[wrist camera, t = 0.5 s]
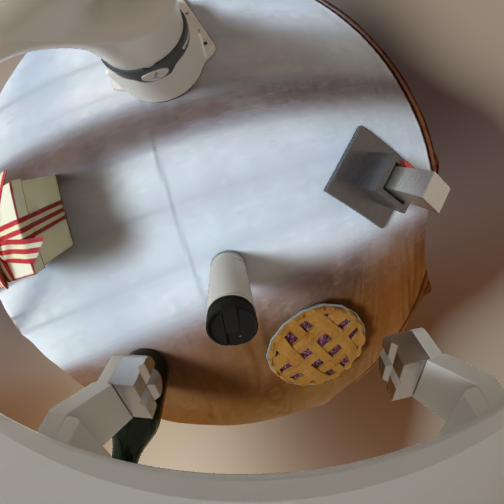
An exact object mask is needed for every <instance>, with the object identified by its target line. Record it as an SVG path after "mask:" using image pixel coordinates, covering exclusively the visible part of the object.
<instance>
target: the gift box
mask: <svg viewBox="0 0 504 504" xmlns="http://www.w3.org/2000/svg"><path fill="white" fill-rule="evenodd" d="M6 171H7V170H5V171H3V172H1V173H0V287H2V288H7V289H8V288H9V287H8V286H9V285H8V282H11V281H15V280H17V279H21V278H24V277H27V276H31V275H35V274H37V273H38V272H40V271H41V270H42V269H44V268H45V265H46V264H47V263H48V262H50V261H51V260H52V259H54V258H55V257H56V256H58V255H59V254H61V253H62V252H64V251H65V250H66V249H68V248H69V247H71V246H72V245H73V241H72V237H71V234H70V230H69V227H68V223H67V220H66V215H65V212H64V209H63V204H62V200H61V196H60V192H59V187H58V183H57V178H56V175H52V176H47V177H41V178H35V179H30V180H24V181H21V179H18V180H13V181H10V182H8V183H6V184H4V181H5V176H6ZM7 285H8V286H7Z"/></svg>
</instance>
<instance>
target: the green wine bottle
mask: <svg viewBox="0 0 504 504" xmlns="http://www.w3.org/2000/svg"><path fill="white" fill-rule="evenodd" d="M129 355H141V356H150V357H152V358H153V360H154V362H155V366H154V369H155V370H157V371H158V372H159V373H160V376H161V378H162V392H161V395H160V397H159V398H157V399H156V400H155V401H156V404H157V407H156V410H155V413H154V416H153V419H151V418H141V417H133V418H132V419H131V420H130V421H129V422H128V423H127V424H126V425H124V426H123V427H122V428H121V429H120V430H119V431H118V432H117V433H116V434H115V435H114V436H113V437H112V442H113V451H112V458H115V459H119V460H123V461H127V462H132V463H136V464H138V461H139V458H140V456H141V453H142V452H143V450H144V449H145V447H146V446H147V445H148V443H149V442H150V441H151V439H152V438H153V436H154V435H155V434H156V432H157V429H158V427H159V424H160V421H161V416H162V412H163V407H164V402H165V397H166V392H167V387H168V382H169V377H170V366H169V364H168V362H167V361H166V360H165V359H164V358H163V357H162V356H161V355H160V354H158V353H156V352H154V351H151V350H147V349H138V350H134V351H132V352H131V353H130V354H129Z"/></svg>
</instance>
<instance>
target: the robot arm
mask: <svg viewBox="0 0 504 504" xmlns="http://www.w3.org/2000/svg"><path fill="white" fill-rule="evenodd" d="M203 43H207V45H204V44H203ZM57 48H73V49H83V50H87V51H89V52H91V53H93V54H95V55H96V56H98V57H100V58H101V60H102V61H103V63H104V64H105V65H106V67H107V70H106V74H107V75H108V76H109V77H110V84H111V87H112V88H113V89H114V90H118V91H125V92H128V93H130V94H131V95H133V96H134V97H136V98H138V99H140V100H143V101H146V102H163V101H168V100H171V99H174V98H176V97H178V96H180V95H181V94H183V93H184V92H186V91H187V90H188V89H189V88H191V87H192V86H193V84H194V83H195V82H196V81H197V79H198V78H199V76H200V74H201V71H202V69H203V66H204V64H205V62H206V61H207V60H208V59H209V58H210V57H211V56H212V55H213V54H214V52H215V50H216V48H215V45H214V44H213V42H212V41H211V39H210V38H209V36H208V34H207V33H206V31H205V30H204V28H203V27H202V25H201V24H200V23H199V21H198V20H197V18H196V17H195V15H194V14H193V12H192V11H191V9H190V8H189V7H188V5H187V4H186V2H185V1H184V0H0V62H2V61H4V60H6V59H9V58H11V57H14V56H17V55H20V54H23V53H27V52H32V51H37V50H44V49H57ZM382 346H383V348H384V350H383V351H382V353H381V354H380V356H379V371H380V374H381V377H382V379H384V380H385V381H387V382H388V383H387V386H386V388H387V391H388V393H389V395H390V398H391V400H392V401H394V400H398V399H402V398H406V397H410V396H413V397H414V398H415V399H416V400H418V401H419V402H420V403H422V404H423V405H425V406H426V407H427V408H429V409H430V410H431V411H433V412H434V413H435V414H437V415H438V416H439V417H441V418H442V419H443V420H445V421H446V423H445V425H444V427H443V428H442V429H441V431H440V433H439V436H437V437H435V438H432V439H430V440H427V441H424V442H422V443H419V444H416V445H414V446H411V447H408V448H405V449H402V450H398V451H396V452H392V453H388V454H385V455H382V456H378V457H374V458H370V459H366V460H362V461H357V462H353V463H348V464H343V465H338V466H332V467H326V468H319V469H312V470H304V471H295V472H284V473H269V474H215V473H199V472H188V471H179V470H171V469H165V468H158V467H152V466H146V465H141V464H136V463H132V462H127V461H123V460H119V459H115V458H111V455H110V454H109V453H108V452H107V451H106V450H105V449H104V447H103V445H104V444H105V443H106V442H107V441H108V440H109V439H111V438H112V437H113V436H114V435H115V434H116V433H117V432H118V431H119V430H120V429H121V428H122V427H123V426H124V425H126V424H127V423H128V422H129V421H130V420H131V419H132V418H133V417H141V418H151V419H153V416H154V413H155V410H156V407H157V404H156V401H155V400H156V399H157V398H159V397H160V395H161V392H162V378H161V376H160V373H159V372H158V371H157V370H155V369H154V366H155V362H154V360H153V358H152V357H150V356H141V355H128V354H126V355H124V354H114V355H112V357H111V359H110V360H109V362H108V364H107V365H106V367H105V369H104V370H103V372H102V374H101V376H100V377H99V379H98V381H97V382H93V383H91V384H89V385H88V386H86V387H85V388H83V389H82V390H80V391H79V392H77V393H75V394H74V395H72V396H71V397H69V398H67V399H66V400H64V401H62V402H61V403H59V404H58V405H56V406H55V407H53V408H51V409H50V410H49V412H48V414H47V415H46V417H45V419H44V421H43V422H42V424H41V426H40V428H39V429H38V431H37V432H36V431H34V430H32V429H30V428H28V427H26V426H24V425H22V424H19V423H18V422H15V421H14V420H12V419H10V418H8V417H6V416H4V415H2V414H1V413H0V504H504V389H503V387H502V386H501V385H500V383H499V382H498V380H497V379H496V377H495V376H493V375H491V374H489V373H487V372H485V371H482V370H480V369H478V368H476V367H474V366H471V365H469V364H467V363H465V362H463V361H461V360H458V359H456V358H454V357H452V356H450V355H448V354H444V355H443V354H442V353H441V351H440V350H439V349H438V347H437V346H436V344H435V343H434V342H433V340H432V339H431V337H430V336H429V335H428V333H427V332H426V331H425V329H423V328H418V329H413V330H410V331H406V332H401V333H397V334H393V335H388V336H385V337H384V339H383V342H382Z"/></svg>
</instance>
